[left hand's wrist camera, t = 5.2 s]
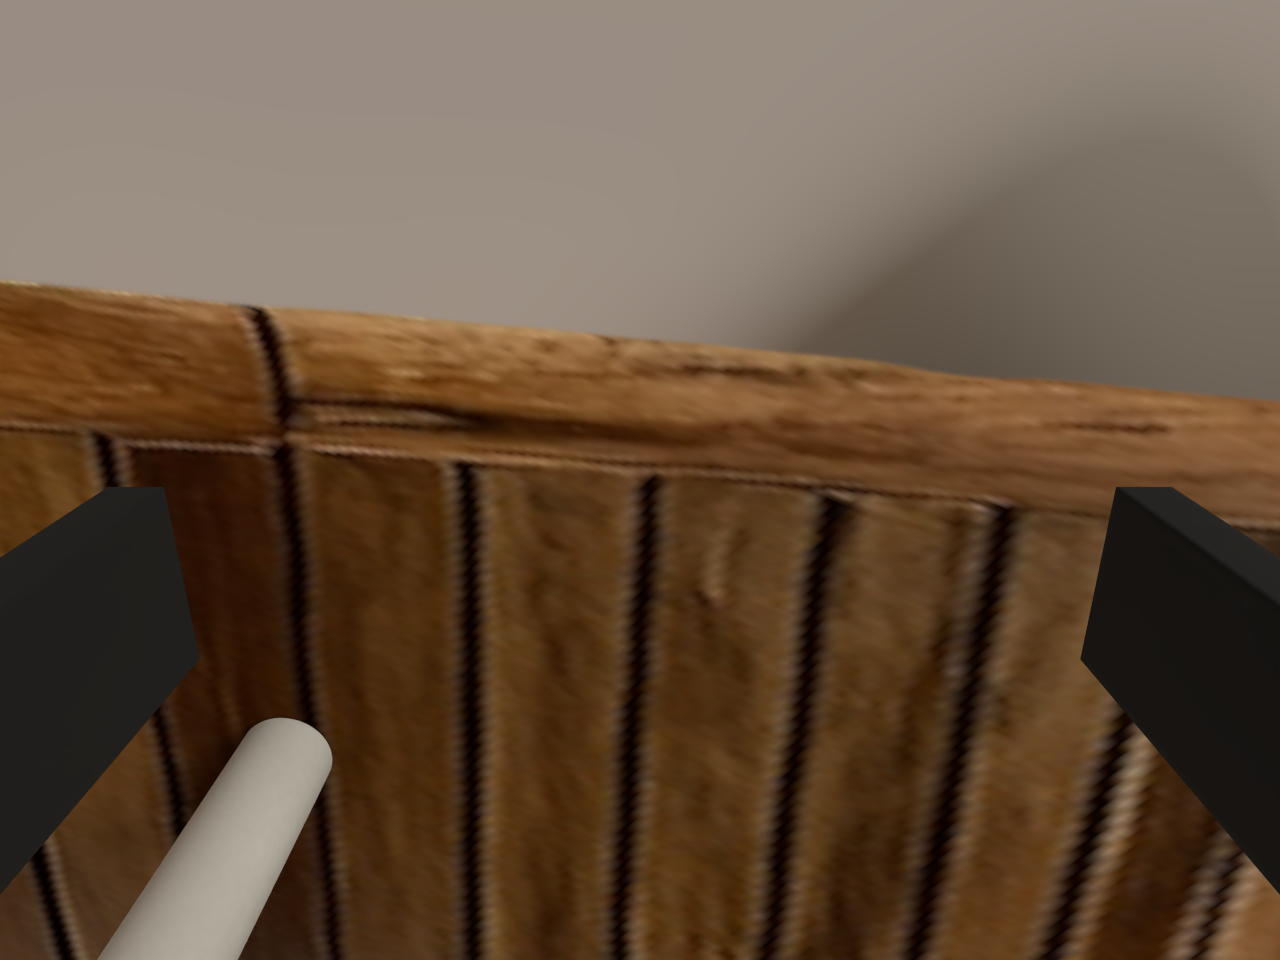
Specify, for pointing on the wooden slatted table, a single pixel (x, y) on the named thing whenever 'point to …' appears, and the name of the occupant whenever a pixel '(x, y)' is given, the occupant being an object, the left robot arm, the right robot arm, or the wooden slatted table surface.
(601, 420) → the wooden slatted table surface
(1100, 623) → the left robot arm
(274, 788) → the bottle
